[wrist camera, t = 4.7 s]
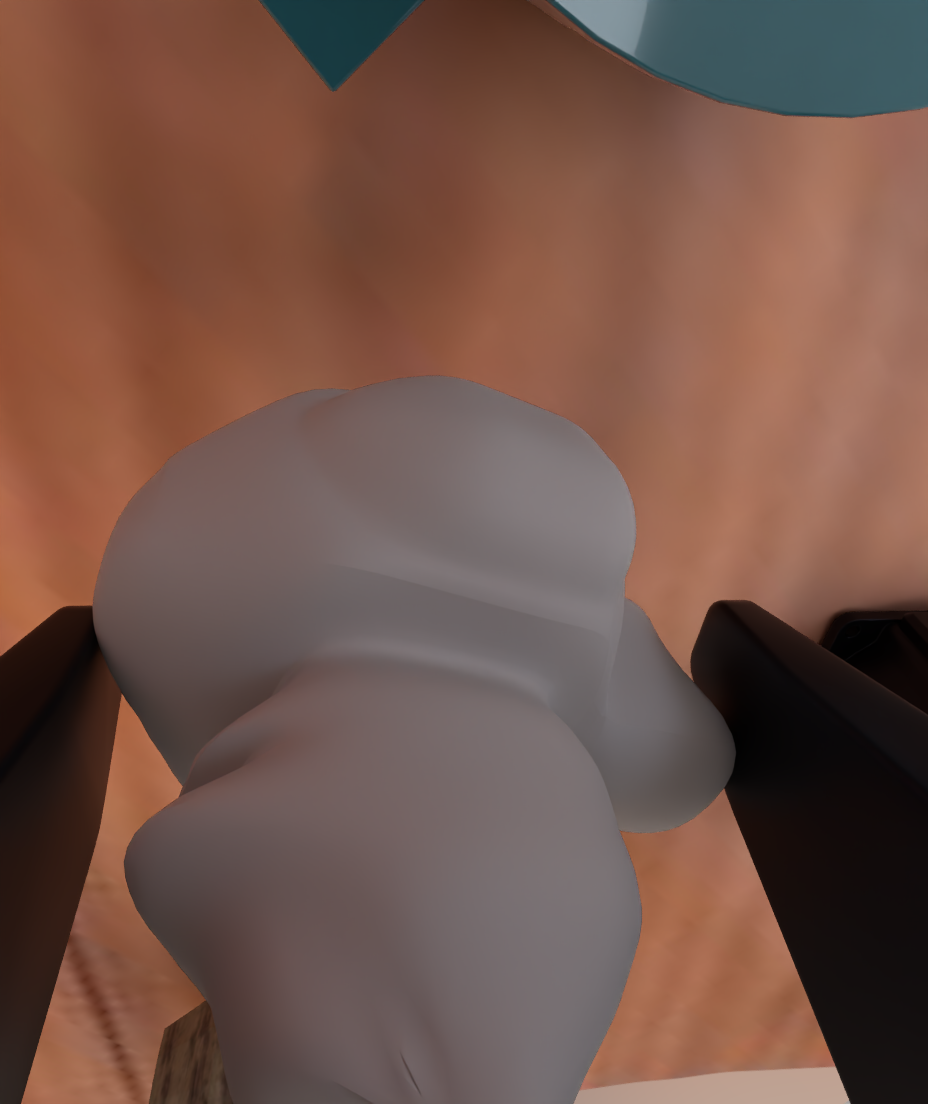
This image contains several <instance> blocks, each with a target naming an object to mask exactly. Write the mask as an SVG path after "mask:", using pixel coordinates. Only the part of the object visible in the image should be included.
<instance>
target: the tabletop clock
mask: <svg viewBox="0 0 928 1104" xmlns="http://www.w3.org/2000/svg"><path fill="white" fill-rule="evenodd" d="M149 1104H234V1103H233V1100H232V1098H231V1095H230V1092H229V1088H228V1084H227V1080H226V1076H225V1072H224V1067H223V1061H222V1056H221V1051H220V1046H219V1041H218V1036H217V1032H216V1027H215V1023H214V1019H213V1014H212V1010H211V1007H210V1005H209V1004H208V1002H207V1001H205V1002H203V1003H202V1004H200V1005H199V1006H198V1007H196V1008H195V1009H193V1010H192V1011H190V1012H189V1013H187V1014H186V1015H184V1016H183V1017H181V1018H180V1019H179V1020H177V1021H176V1022H174V1023H173V1024H171V1025H170V1026H168V1027H167V1028H165V1030H164V1034H163V1038H162V1042H161V1047H160V1051H159V1055H158V1059H157V1064H156V1069H155V1074H154V1079H153V1084H152V1090H151V1095H150V1100H149Z"/></svg>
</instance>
